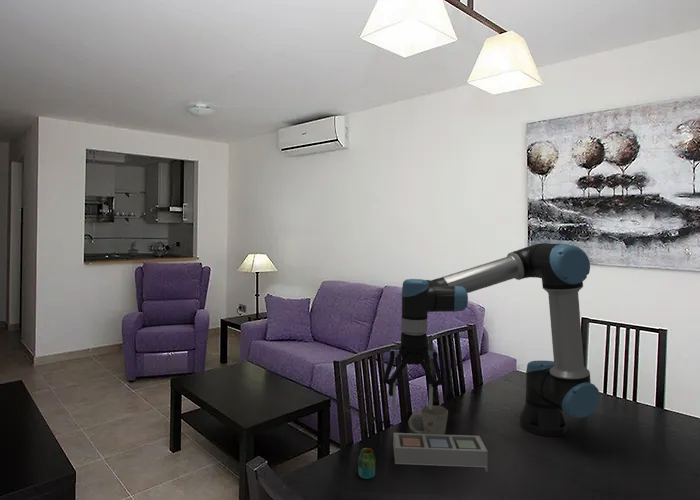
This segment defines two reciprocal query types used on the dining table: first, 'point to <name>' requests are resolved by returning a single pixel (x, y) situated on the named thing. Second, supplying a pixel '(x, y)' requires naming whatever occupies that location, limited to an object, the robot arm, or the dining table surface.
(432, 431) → the mug
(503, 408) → the dining table surface
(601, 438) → the dining table surface
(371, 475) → the jar
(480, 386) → the dining table surface
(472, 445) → the key
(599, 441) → the dining table surface
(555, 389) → the robot arm
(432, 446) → the key
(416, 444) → the key
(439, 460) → the three-slot tray
